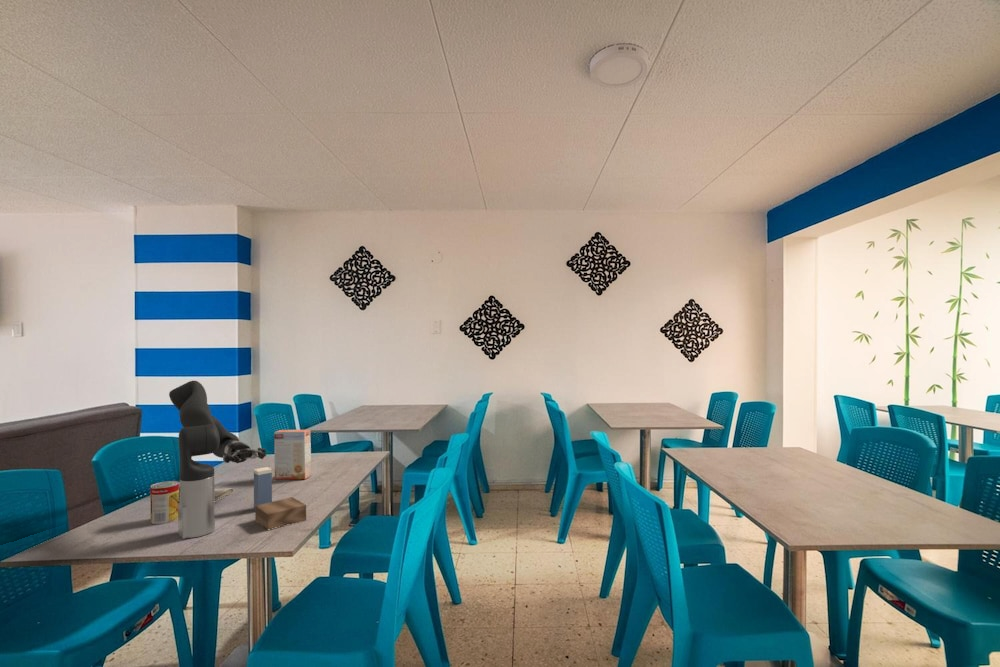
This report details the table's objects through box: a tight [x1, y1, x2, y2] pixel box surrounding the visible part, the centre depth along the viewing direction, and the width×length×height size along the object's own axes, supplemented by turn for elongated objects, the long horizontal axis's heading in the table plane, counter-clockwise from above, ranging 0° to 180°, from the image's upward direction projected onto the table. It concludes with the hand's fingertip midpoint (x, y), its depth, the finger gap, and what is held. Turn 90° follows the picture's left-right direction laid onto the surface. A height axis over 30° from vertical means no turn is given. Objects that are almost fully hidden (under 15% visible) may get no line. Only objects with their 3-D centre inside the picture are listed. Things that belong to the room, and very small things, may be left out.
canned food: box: [150, 480, 180, 525], centre depth 162 cm, size 8×8×12 cm
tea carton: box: [253, 466, 273, 509], centre depth 171 cm, size 5×5×14 cm
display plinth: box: [254, 497, 307, 530], centre depth 159 cm, size 12×12×5 cm
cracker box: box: [273, 429, 312, 480], centre depth 210 cm, size 14×6×21 cm, turn 84°
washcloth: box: [179, 487, 234, 503], centre depth 182 cm, size 12×18×3 cm, turn 176°
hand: (250, 458), depth 181 cm, fingers open, 8 cm apart
